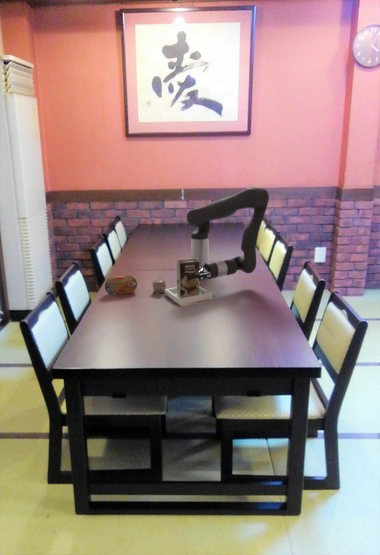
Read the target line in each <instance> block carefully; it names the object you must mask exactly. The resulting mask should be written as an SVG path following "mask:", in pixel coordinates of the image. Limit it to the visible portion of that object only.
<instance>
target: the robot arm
mask: <svg viewBox="0 0 380 555" xmlns="http://www.w3.org/2000/svg"><path fill="white" fill-rule="evenodd" d="M269 199H270V195H269V191H268V190H267V189H265V188H262V187H253V186H251V187H248V188H245V189H244V190H242V191H240V192H238V193H236V194H234V195H230V196H227V197H224V198H220V199H218V200H215V201H214V202H212V203H209V204H207V205H204V206H202V207H198V208H197V207H196V208H192V209H190V210H189V211H188V212H187V214H186V221H187V223H188V224H189V225H191V226H192V227H196V228H195V230H194V231H191V233H190V242H191V243H190V244H191V259H196V260H198V261H199V273H196V274H190V275H187V280H192V279H198V280H199V281H203V280H211V279H217V278H221V277H225V276H230V275H234V274H237V273H236V272H238V271H242V272H244V273H246V274H251V273H253V272H254V271H255V269H256V267H257V251H256V248H257V244H258V239H259V238H258V237H259V232H260V228H261V226H262V224H263V219H264V217H265V213H266V210H267V207H268V204H269ZM249 208H250V209H253V213H252V216H251V218H250V221H249V223H248V224H247V225H246V227H245V229H244V231H243V234H242V238H241V245H240V249H241V251H242V252H243V255H239V256H235V257H232V258H230V259H225V260H216V261H215V260H214V261H210V260H209V259H210V258H209V256H210V255H209V253H210V250H209V248H210V247H209V235H210V232H211V231H210V228H211V221H216V220H222V219H226V218H228V217H232V216H233V215H235V214H236V212H237V211H239V210H242V209H249Z"/></svg>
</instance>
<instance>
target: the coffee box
mask: <svg viewBox="0 0 380 555" xmlns="http://www.w3.org/2000/svg"><path fill="white" fill-rule="evenodd" d="M196 273H199V261H198V260H196V259H192V258H189V259H188V258H187V259H178V260H176V287H177V294H178V295H179V297H180V298H185V297H191V296H196V295H199V286H200V280H198V279H192V280H187V275H190V274H196Z"/></svg>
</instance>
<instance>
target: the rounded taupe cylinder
mask: <svg viewBox="0 0 380 555" xmlns="http://www.w3.org/2000/svg"><path fill="white" fill-rule="evenodd" d="M166 286H167V285H166V280H165V279H155V280H153V281H152V290H153V294H155V293H161V294H165V289H167V287H166Z"/></svg>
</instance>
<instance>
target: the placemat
mask: <svg viewBox="0 0 380 555" xmlns="http://www.w3.org/2000/svg"><path fill="white" fill-rule="evenodd" d="M210 300H212V301H213V298H212V299H208V300H203V301H198V302H193V303H188V304H183V305H179V306H180V307H181V306H182V307H186V305H187V306H192V305H196V304H195V303H197V304H201V302H202V303H205V301H207V302H211V301H210ZM191 304H192V305H191Z"/></svg>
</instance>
